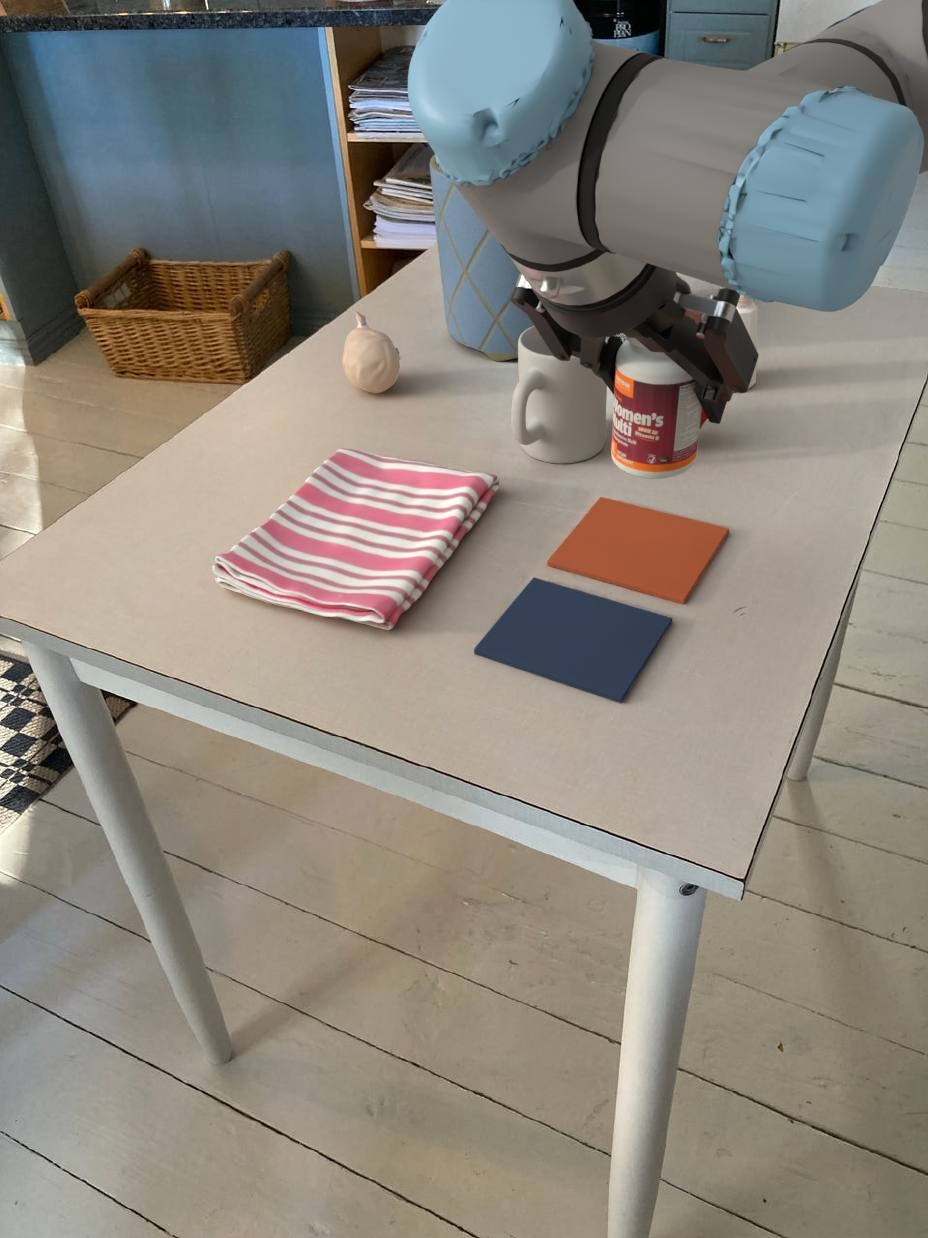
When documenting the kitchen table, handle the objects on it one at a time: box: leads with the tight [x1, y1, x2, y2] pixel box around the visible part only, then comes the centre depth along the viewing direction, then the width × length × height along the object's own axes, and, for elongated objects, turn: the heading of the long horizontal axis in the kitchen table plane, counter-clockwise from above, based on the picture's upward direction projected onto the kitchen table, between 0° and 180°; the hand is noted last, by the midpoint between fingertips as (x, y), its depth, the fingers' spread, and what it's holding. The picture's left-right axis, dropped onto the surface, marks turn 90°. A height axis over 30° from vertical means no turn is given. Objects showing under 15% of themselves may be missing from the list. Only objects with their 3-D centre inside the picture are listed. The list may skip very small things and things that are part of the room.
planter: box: [429, 154, 534, 362], centre depth 114 cm, size 19×19×20 cm
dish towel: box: [211, 447, 500, 631], centre depth 87 cm, size 17×23×4 cm
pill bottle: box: [610, 334, 702, 480], centre depth 69 cm, size 6×6×11 cm
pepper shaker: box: [733, 294, 759, 393], centre depth 104 cm, size 5×5×11 cm
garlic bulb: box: [341, 310, 401, 394], centre depth 108 cm, size 7×6×8 cm
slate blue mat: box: [473, 577, 673, 704], centre depth 76 cm, size 12×10×1 cm
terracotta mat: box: [546, 496, 730, 605], centre depth 84 cm, size 12×11×1 cm
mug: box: [510, 326, 609, 465], centre depth 95 cm, size 12×8×11 cm
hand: (674, 396), depth 73 cm, fingers closed on pill bottle, 6 cm apart
